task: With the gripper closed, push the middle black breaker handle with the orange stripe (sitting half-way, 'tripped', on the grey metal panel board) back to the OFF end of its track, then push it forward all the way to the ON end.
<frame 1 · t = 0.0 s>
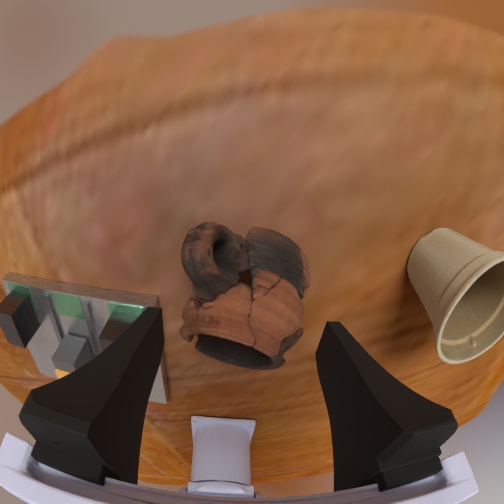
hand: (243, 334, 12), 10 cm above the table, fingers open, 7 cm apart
flower pot: (433, 256, 23), on the table
panel: (86, 339, 26), on the table
tripped breaker: (74, 364, 23), point 4 cm above the table, slide at 4.0 cm
pottery mug: (240, 270, 23), on the table
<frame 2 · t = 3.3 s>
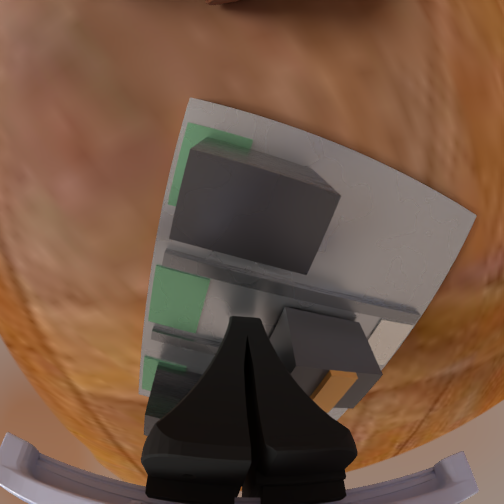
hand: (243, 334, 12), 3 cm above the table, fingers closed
panel: (288, 308, 15), on the table
tripped breaker: (321, 362, 12), point 4 cm above the table, slide at 2.9 cm, touching gripper
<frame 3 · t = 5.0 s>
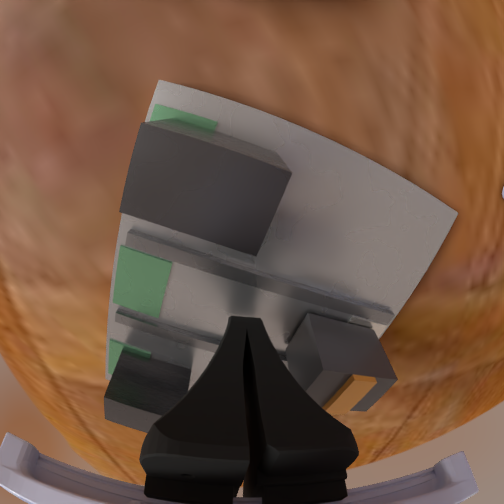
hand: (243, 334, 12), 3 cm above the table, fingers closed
panel: (255, 300, 15), on the table
tripped breaker: (339, 367, 13), point 4 cm above the table, slide at 0.0 cm
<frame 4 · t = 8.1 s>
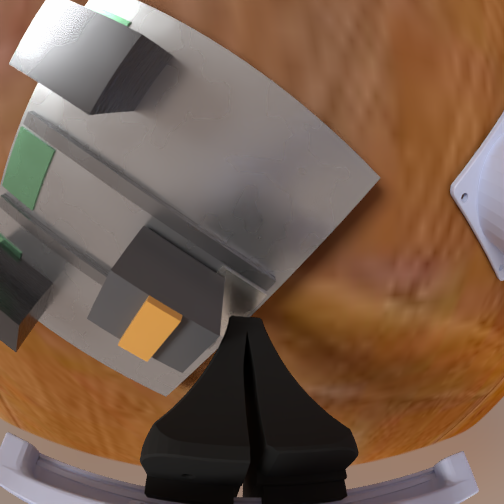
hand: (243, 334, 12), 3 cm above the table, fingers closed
panel: (128, 222, 13), on the table
tripped breaker: (159, 300, 11), point 4 cm above the table, slide at 1.2 cm, touching gripper
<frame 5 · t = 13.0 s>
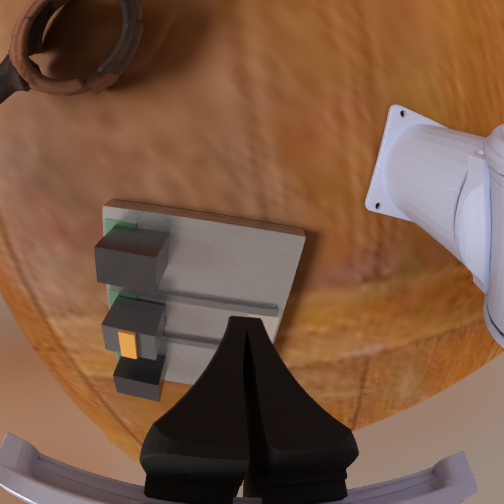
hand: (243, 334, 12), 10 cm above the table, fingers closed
panel: (193, 308, 24), on the table
tripped breaker: (134, 328, 20), point 4 cm above the table, slide at 8.0 cm
pottery mug: (78, 48, 14), on the table
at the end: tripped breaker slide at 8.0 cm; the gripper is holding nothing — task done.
